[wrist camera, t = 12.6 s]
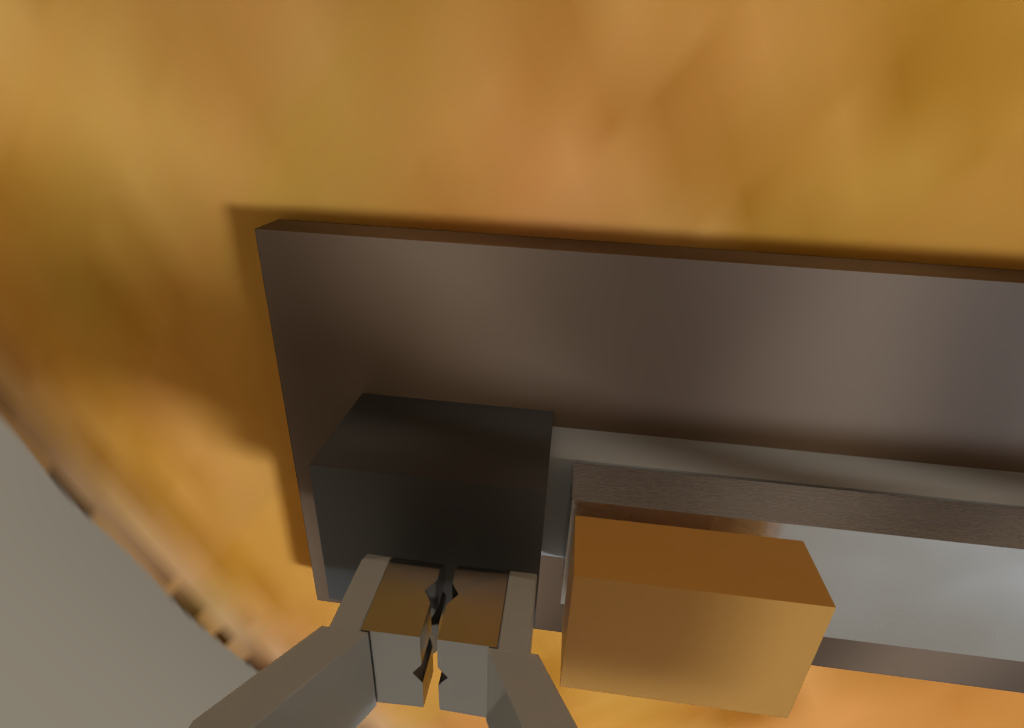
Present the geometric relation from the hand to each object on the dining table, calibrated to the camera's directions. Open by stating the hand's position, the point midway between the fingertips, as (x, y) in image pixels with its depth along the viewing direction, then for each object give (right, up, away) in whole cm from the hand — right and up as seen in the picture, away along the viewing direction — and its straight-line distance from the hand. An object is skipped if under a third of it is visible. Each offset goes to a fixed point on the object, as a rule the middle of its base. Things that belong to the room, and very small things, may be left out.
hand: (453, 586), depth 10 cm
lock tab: (+4, 0, 0) cm, 4 cm away
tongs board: (+10, +1, +3) cm, 11 cm away
